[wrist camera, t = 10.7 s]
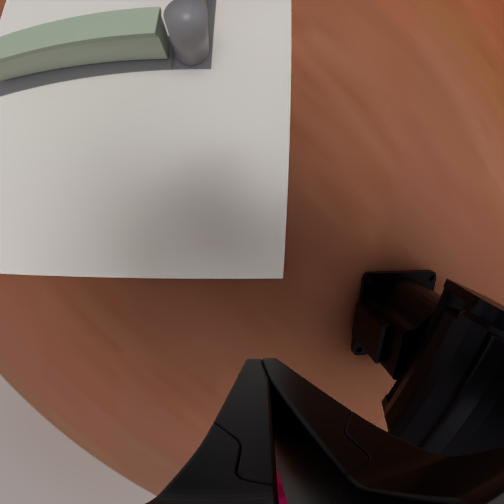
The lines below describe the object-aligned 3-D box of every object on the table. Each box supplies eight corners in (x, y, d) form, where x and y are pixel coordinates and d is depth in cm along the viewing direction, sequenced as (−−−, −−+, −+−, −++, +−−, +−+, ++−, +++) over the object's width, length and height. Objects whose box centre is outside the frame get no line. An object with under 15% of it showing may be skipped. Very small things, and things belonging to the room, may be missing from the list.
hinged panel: (170, 39, 16) (159, 6, 11) (167, 61, 16) (154, 33, 12) (5, 63, 14) (-30, 47, 10) (1, 83, 15) (-36, 71, 10)
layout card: (287, -63, 15) (306, -110, 9) (281, 275, 21) (305, 313, 15) (23, -33, 12) (-8, -63, 6) (-10, 270, 18) (-57, 297, 13)
